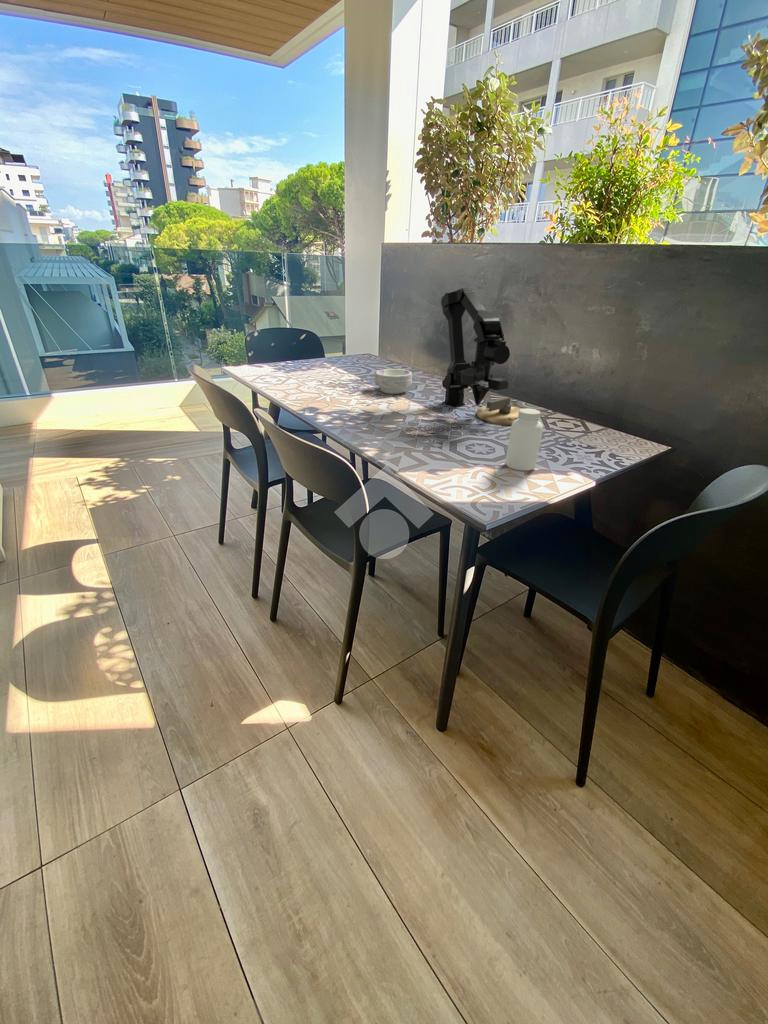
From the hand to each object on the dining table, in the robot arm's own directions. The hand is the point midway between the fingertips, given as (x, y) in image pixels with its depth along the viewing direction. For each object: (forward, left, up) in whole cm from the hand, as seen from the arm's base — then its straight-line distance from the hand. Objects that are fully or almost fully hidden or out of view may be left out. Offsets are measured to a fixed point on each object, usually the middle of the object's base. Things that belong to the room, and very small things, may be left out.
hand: (477, 405), depth 156 cm
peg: (+6, +3, -2) cm, 7 cm away
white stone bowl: (-44, 0, -5) cm, 44 cm away
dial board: (+6, +9, -4) cm, 11 cm away
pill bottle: (+35, -25, -5) cm, 43 cm away
